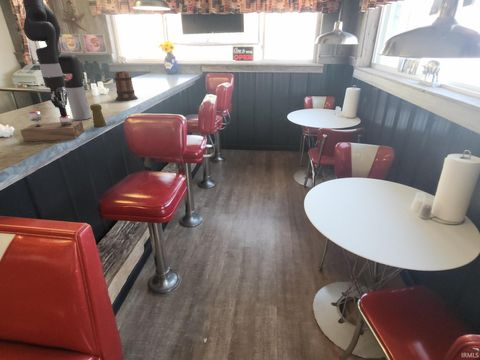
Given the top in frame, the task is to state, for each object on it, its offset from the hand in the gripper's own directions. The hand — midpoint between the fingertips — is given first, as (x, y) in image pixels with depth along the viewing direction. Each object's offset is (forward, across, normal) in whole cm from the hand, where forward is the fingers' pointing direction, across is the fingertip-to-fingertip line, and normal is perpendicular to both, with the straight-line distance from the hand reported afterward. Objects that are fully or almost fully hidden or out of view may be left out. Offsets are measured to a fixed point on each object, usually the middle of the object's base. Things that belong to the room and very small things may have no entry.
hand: (64, 116), depth 127 cm
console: (+9, 0, -6) cm, 11 cm away
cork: (+9, -16, +9) cm, 21 cm away
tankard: (+9, -101, +7) cm, 102 cm away
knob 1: (+4, 0, -12) cm, 13 cm away
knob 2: (+6, 0, 0) cm, 7 cm away
